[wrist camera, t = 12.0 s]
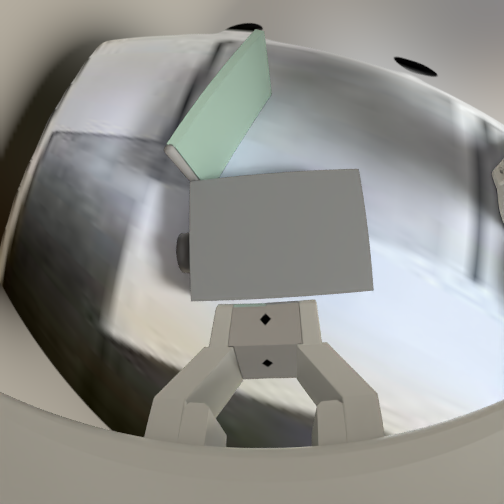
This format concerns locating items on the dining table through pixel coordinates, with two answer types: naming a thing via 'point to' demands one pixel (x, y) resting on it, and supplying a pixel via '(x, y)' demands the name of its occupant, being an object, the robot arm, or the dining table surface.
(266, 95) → the side door
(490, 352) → the dining table surface
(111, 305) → the dining table surface
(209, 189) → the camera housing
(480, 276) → the dining table surface
